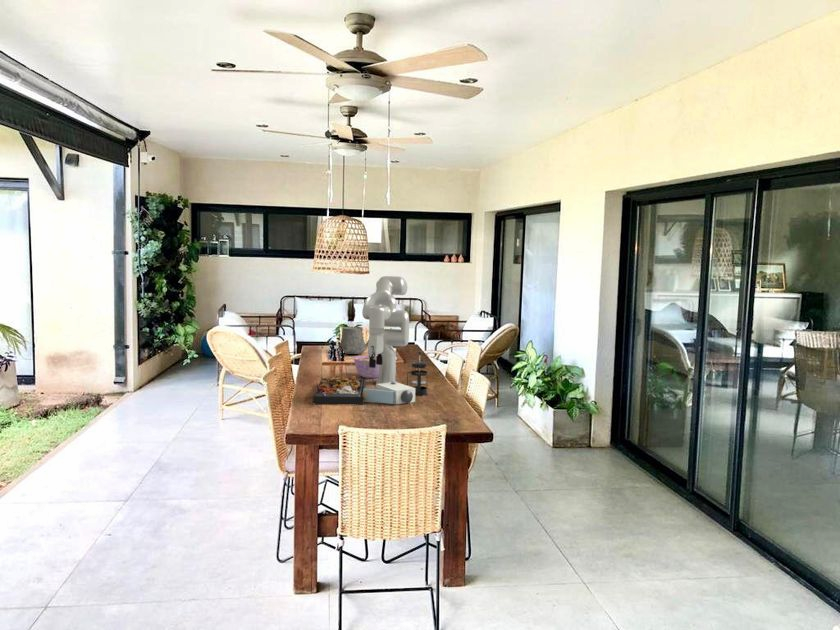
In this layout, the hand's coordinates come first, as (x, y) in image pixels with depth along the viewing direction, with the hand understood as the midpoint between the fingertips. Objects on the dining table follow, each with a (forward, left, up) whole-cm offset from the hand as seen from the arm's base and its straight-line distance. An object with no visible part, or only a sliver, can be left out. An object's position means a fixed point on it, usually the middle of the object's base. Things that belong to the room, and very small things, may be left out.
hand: (375, 365), depth 316 cm
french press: (-4, +29, -18) cm, 35 cm away
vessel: (-134, +65, -19) cm, 150 cm away
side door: (+5, -1, -18) cm, 18 cm away
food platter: (-23, -7, -19) cm, 31 cm away
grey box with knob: (+1, +11, -18) cm, 21 cm away
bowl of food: (-55, +31, -18) cm, 66 cm away
